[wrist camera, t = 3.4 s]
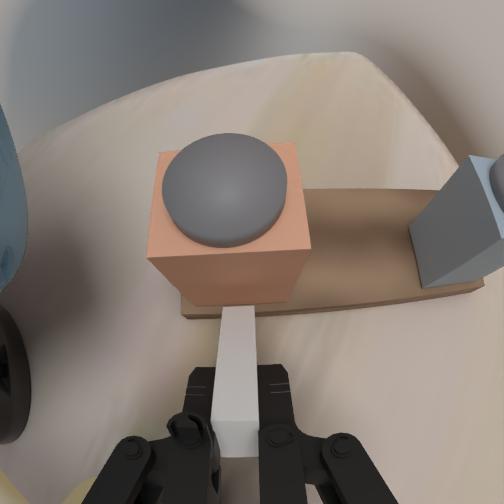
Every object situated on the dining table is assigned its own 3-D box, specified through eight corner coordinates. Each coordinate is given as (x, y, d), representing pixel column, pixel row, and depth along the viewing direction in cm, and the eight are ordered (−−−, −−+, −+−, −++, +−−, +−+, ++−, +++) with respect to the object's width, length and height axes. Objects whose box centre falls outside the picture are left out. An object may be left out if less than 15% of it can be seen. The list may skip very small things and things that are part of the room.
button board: (471, 291, 21) (484, 285, 19) (188, 319, 21) (181, 314, 19) (447, 202, 24) (457, 191, 22) (190, 208, 24) (185, 196, 22)
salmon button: (288, 301, 19) (316, 237, 10) (195, 306, 19) (136, 247, 10) (281, 230, 21) (296, 127, 11) (196, 235, 21) (153, 138, 11)
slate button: (477, 280, 19) (561, 228, 10) (422, 288, 19) (513, 229, 10) (462, 224, 21) (531, 157, 11) (408, 225, 21) (476, 144, 11)
